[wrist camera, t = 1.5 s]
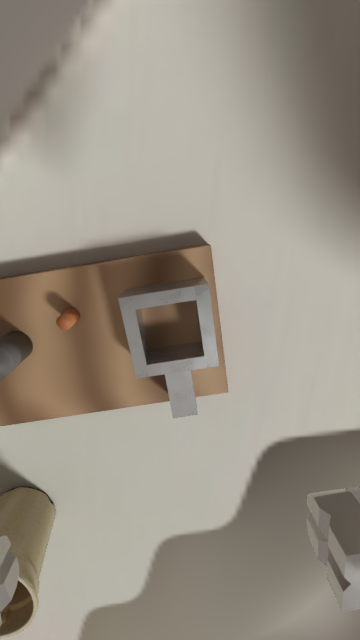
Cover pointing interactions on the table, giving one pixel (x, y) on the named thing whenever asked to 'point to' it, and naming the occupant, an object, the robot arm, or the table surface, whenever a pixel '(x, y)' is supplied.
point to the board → (95, 336)
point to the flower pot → (25, 551)
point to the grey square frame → (177, 357)
